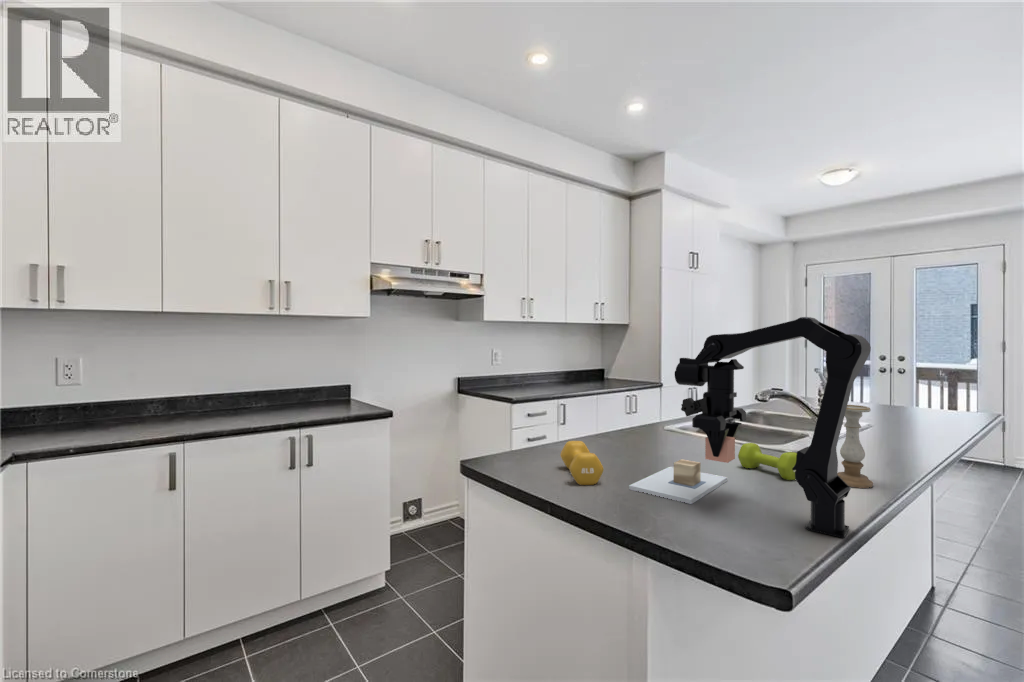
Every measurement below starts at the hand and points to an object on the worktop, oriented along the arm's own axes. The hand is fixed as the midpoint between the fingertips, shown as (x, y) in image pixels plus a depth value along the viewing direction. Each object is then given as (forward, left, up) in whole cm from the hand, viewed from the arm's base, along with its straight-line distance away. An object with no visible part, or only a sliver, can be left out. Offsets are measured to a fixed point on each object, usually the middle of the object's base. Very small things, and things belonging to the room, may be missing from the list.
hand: (720, 454), depth 112 cm
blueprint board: (+6, +12, -11) cm, 18 cm away
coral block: (0, 0, -1) cm, 1 cm away
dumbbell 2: (+34, -2, -12) cm, 36 cm away
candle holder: (+38, -21, -11) cm, 44 cm away
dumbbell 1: (-5, +36, -12) cm, 38 cm away
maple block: (+6, +10, -10) cm, 15 cm away
